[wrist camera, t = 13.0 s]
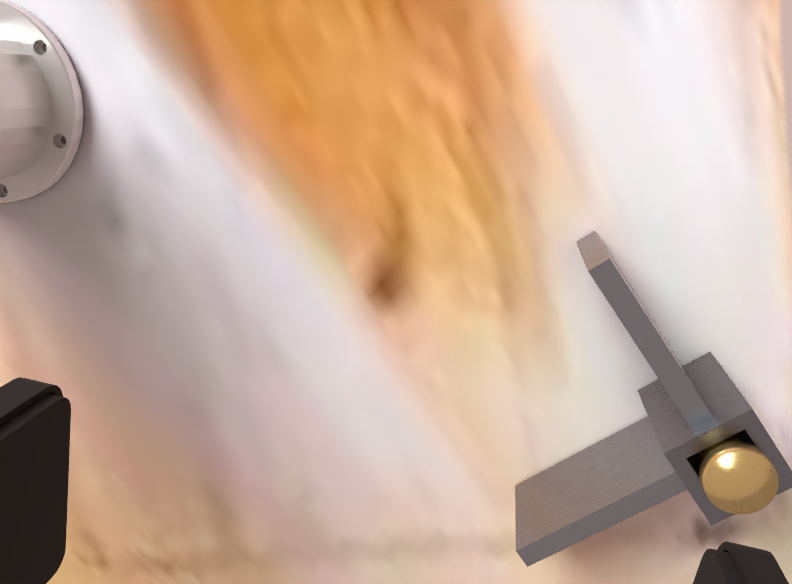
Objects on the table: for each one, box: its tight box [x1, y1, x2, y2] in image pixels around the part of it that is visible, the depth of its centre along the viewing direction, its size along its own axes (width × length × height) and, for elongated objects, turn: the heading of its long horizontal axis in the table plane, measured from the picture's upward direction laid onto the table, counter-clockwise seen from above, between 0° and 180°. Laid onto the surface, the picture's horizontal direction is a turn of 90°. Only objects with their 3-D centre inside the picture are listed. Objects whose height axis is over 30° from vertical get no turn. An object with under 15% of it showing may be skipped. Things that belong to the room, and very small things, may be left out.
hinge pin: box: [699, 433, 779, 514], centre depth 40 cm, size 3×3×10 cm
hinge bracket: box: [515, 231, 792, 567], centre depth 41 cm, size 15×15×8 cm
